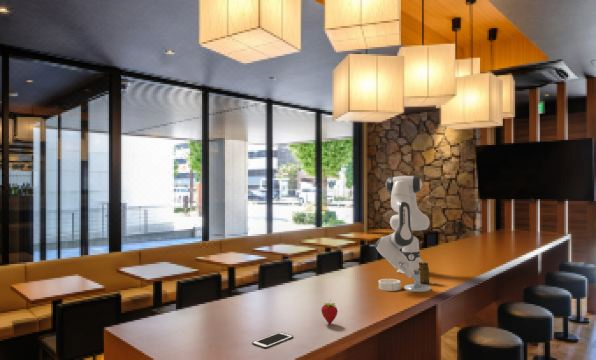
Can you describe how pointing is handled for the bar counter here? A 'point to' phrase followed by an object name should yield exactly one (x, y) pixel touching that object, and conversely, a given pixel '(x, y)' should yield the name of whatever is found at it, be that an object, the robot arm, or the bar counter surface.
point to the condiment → (424, 273)
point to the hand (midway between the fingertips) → (418, 279)
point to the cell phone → (272, 340)
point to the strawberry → (329, 312)
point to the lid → (417, 285)
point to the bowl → (389, 284)
